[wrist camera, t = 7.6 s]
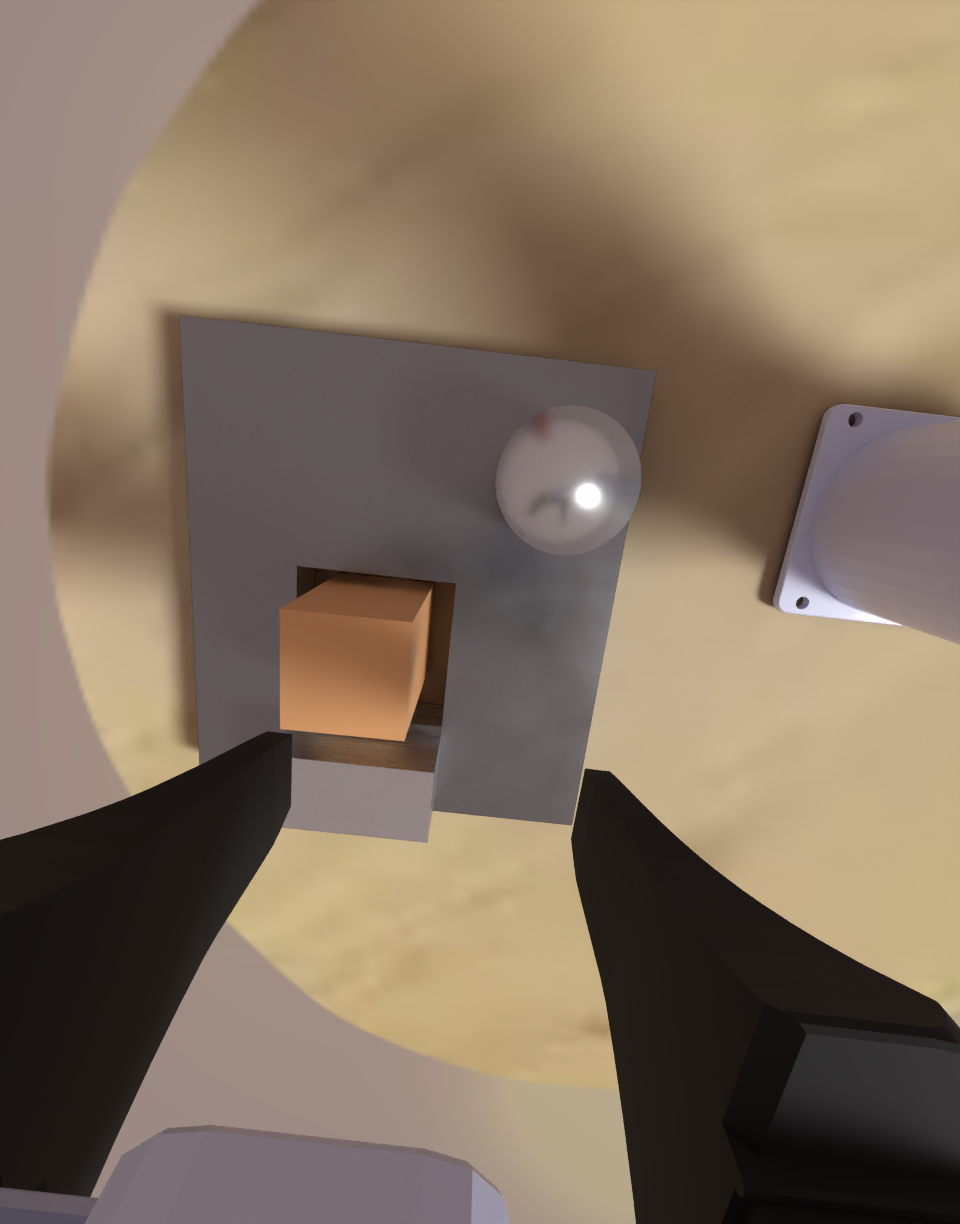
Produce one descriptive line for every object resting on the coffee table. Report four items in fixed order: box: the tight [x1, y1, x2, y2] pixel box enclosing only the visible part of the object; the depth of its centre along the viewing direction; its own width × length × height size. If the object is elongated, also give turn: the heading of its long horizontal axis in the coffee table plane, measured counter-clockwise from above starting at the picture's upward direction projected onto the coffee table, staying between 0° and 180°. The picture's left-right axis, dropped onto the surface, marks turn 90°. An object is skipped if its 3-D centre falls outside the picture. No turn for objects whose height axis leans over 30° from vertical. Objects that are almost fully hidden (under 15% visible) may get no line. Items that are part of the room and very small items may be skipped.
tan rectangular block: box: [279, 573, 434, 741], centre depth 18 cm, size 4×4×6 cm
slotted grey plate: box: [180, 315, 657, 843], centre depth 17 cm, size 16×18×6 cm
